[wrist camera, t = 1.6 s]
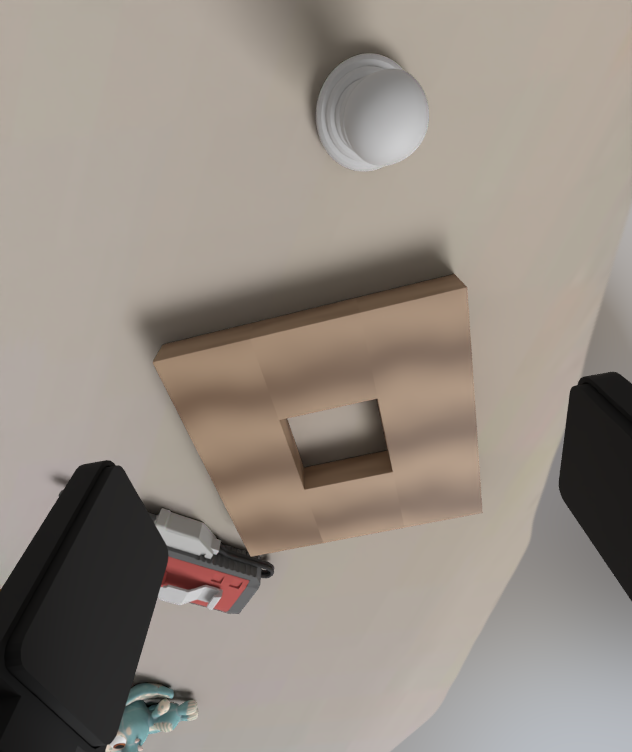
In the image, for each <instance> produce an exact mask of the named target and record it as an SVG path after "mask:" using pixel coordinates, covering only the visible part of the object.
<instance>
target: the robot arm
mask: <svg viewBox="0 0 632 752" xmlns="http://www.w3.org/2000/svg"><path fill="white" fill-rule="evenodd" d="M559 490H560V493H561V496H562V498H563V500H564V502H565V503H566V505H567V506H568V508H569V509H570V511H571V512H572V514H573V515H574V517H575V518H576V519H577V521H578V523H579V524H580V525H581V527H582V528H583V530H584V531H585V533H586V534H587V536H588V537H589V539H590V540H591V542H592V543H593V545H594V546H595V548H596V549H597V551H598V552H599V554H600V555H601V556H602V558H603V559H604V561H605V562H606V564H607V565H608V567H609V568H610V570H611V571H612V573H613V574H614V576H615V577H616V579H617V580H618V582H619V583H620V585H621V586H622V587H623V589H624V590H625V592H626V593H627V595H628V596H629V598H630V599H631V601H632V384H631V383H630V382H629V381H628V380H626V379H625V378H624V377H623V376H621V375H620V374H618V373H616V372H608V373H603V374H597V375H591V376H586V377H582V378H581V379H580V380H579V382H578V385H577V386H573V387H572V388H571V391H570V396H569V404H568V412H567V420H566V428H565V437H564V444H563V452H562V460H561V468H560V477H559ZM168 556H169V555H168V548H167V545H166V543H165V541H164V540H163V538H162V536H161V534H160V533H159V531H158V529H157V527H156V526H155V524H154V522H153V520H152V519H151V517H150V515H149V513H148V511H147V510H146V508H145V506H144V504H143V503H142V501H141V499H140V497H139V496H138V494H137V492H136V490H135V489H134V487H133V485H132V483H131V482H130V480H129V478H128V476H127V474H126V473H125V471H124V469H123V468H122V467H121V466H116V465H115V464H114V463H113V462H111V461H108V460H106V461H100V462H95V463H89V464H83V465H81V466H79V467H78V468H77V469H76V471H75V472H74V474H73V476H72V477H71V479H70V480H69V482H68V484H67V485H66V487H65V488H64V490H63V492H62V493H61V495H60V496H59V498H58V500H57V501H56V503H55V504H54V506H53V507H52V509H51V511H50V512H49V514H48V515H47V517H46V519H45V520H44V522H43V523H42V525H41V527H40V528H39V530H38V531H37V533H36V535H35V536H34V538H33V539H32V541H31V543H30V544H29V546H28V547H27V549H26V551H25V552H24V554H23V555H22V557H21V558H20V560H19V562H18V563H17V565H16V566H15V568H14V570H13V571H12V573H11V574H10V576H9V578H8V579H7V581H6V582H5V584H4V586H3V587H2V589H1V590H0V752H105V750H106V747H107V745H108V744H111V743H112V742H113V740H114V739H115V737H116V735H117V732H118V730H119V726H120V723H121V720H122V716H123V713H124V709H125V706H126V703H127V699H128V696H129V693H130V689H131V686H132V682H133V679H134V676H135V672H136V669H137V665H138V662H139V659H140V655H141V652H142V648H143V645H144V642H145V638H146V635H147V631H148V628H149V625H150V621H151V618H152V614H153V611H154V608H155V604H156V601H157V598H158V594H159V591H160V587H161V584H162V581H163V577H164V574H165V570H166V567H167V563H168Z"/></svg>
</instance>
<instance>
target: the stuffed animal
mask: <svg viewBox="0 0 632 752" xmlns="http://www.w3.org/2000/svg"><path fill="white" fill-rule="evenodd" d="M173 696H174V692H173V690H172V689H170V688H167V687H165V686H163V685H161V684H155V683H142V684H137V685H135V686H134V687H133V688H131V689H130V693H129V696H128V699H127V703H126V706H125V709H124V713H123V716H122V720H121V723H120V726H119V730H118V732H117V735H116V737H115V739H114V740H113V742H112V743H111V744H108V745H107V747H106V750H105V752H138V751H141V750H143V748H142V747H141V746H142V744H143V743H144V741H145V740H146V738H147V736H148V734H152V733H157V732H160V731H162V732H170V731H172V730H174V728H175V727H176V726H177V724H178V722H180V721H191V720H194V719H196V718H197V716H198V708H197V702H196V701H195V700H188V701H186V702H184V703H183V704H181V705H180V706H179V705H178V704H177V703H174V702H170V701H169V700H168V699H163V700H162V701H160V702H159V704H158V705H152V706H150V707H149V708H147V706H146V704H145V702H144V701H143V699H150V698H157V697H167V698H171V699H172V698H173Z"/></svg>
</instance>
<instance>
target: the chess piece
mask: <svg viewBox="0 0 632 752" xmlns="http://www.w3.org/2000/svg"><path fill="white" fill-rule="evenodd" d="M428 123H429V108H428V102H427V99H426V95H425V93H424V91H423V89H422V87H421V85H420V84H419V82H418V81H417V80H416V79H415V78H414V77H413V76H412V75H411V74H409V73H408V72H406V71H404V70H403V68H402V67H401V66H400V65H399V64H397V63H396V62H395V61H393V60H392V59H390V58H388V57H386V56H383V55H380V54H374V53H365V54H359V55H356V56H353V57H351V58H349V59H347V60H345V61H343V62H342V63H341V64H339V65H338V66H337V67H336V68H335V69H334V70H333V71H332V72H331V73H330V75H329V76H328V77H327V79H326V81H325V82H324V84H323V86H322V88H321V91H320V94H319V97H318V101H317V106H316V125H317V131H318V135H319V137H320V140H321V143H322V144H323V146H324V148H325V150H326V151H327V153H328V154H329V155H330V156H331V157H332V158H333V159H334V160H335V161H336V162H337V163H339V164H340V165H342V166H344V167H346V168H348V169H351V170H355V171H372V170H376V169H379V168H382V167H384V166H386V165H391V164H395V163H397V162H400V161H402V160H403V159H405V158H407V157H408V156H409V155H411V154H412V153H413V152H414V151H415V150H416V149H417V148H418V146H419V145H420V144H421V142H422V141H423V139H424V137H425V134H426V132H427V128H428Z"/></svg>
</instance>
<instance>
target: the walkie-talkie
mask: <svg viewBox="0 0 632 752" xmlns="http://www.w3.org/2000/svg"><path fill="white" fill-rule="evenodd" d="M62 492H63V490H62V491H61V492H60V494H59V496H60V495H61V493H62ZM149 515H150V517H151V519H152V520H153V522H154V524H155V526H156V527H157V529H158V531H159V533H160V534H161V536H162V538H163V540H164V541H165V543H166V545H167V548H168V555H169V556H168V563H167V567H166V570H165V574H164V577H163V581H162V584H161V587H160V591H159V594H158V597H159V598H160V600H162V601H166V602H170V603H173V604H177V605H182V604H185V603H188V602H189V603H192V604H196V605H200V606H203V607H207V608H209V609H210V610H213V609H214V610H218V611H222V612H225V613H228V614H239V613H240V612H241V611H242V609H243V608H244V607H245V605H246V604H247V603H248V602H249V600H250V599H251V598H252V596H253V595H254V594H255V593H256V591H257V590H258V588H259V586H260V580H261V578H269V577H271V576H272V575H273V574H274V566H273V565H272V564H270V563H269V562H266V561H263V560H261V558H260V556H259V555H257V556H252V557H251V556H250V554H249V552H245V551H244V550H239V549H238V548H237V549H236V548H233V547H230V546H228V545H223V544H222V543H221V540H218V539H216V538H217V537H216V536H215V535H214V534H213V533H212V531H211V530H210V529H209V528H208V527H207V526H206V525H205V523H203V522H200V521H197V520H194V519H191V518H188V517H184V516H181V515H178V514H175V513H172V512H171V511H170V510H167V509H164V508H162V509H161V510H160V512H159V514H158V515H155V514H152V513H149ZM261 568H263V569H266V570H262V569H261Z"/></svg>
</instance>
